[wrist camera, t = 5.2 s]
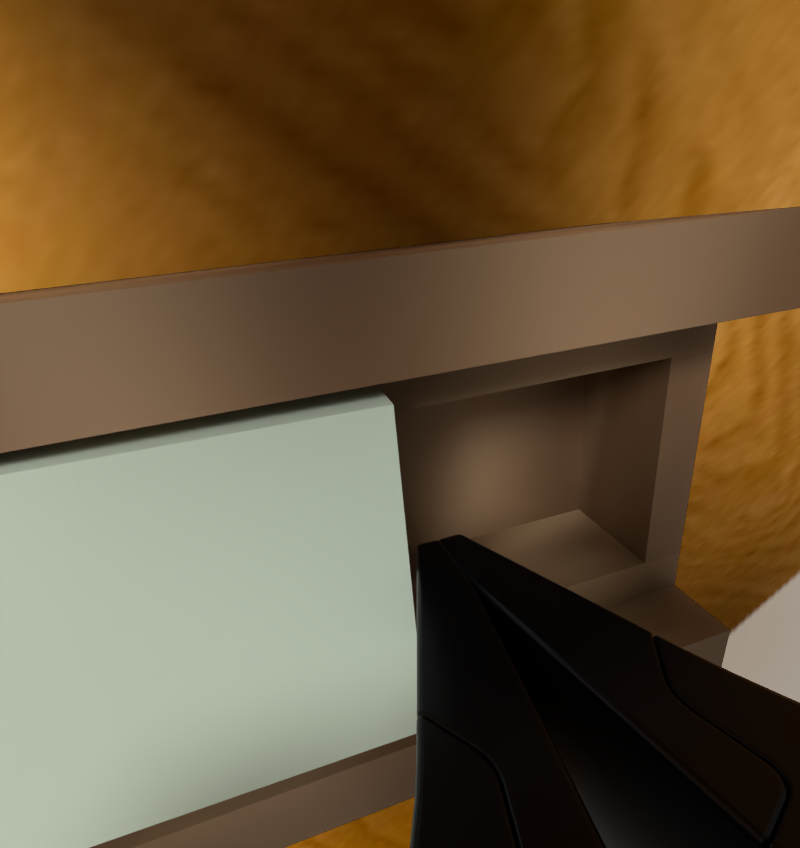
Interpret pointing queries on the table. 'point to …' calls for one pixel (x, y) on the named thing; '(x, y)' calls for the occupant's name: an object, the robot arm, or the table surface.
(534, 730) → the robot arm
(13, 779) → the lid
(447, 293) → the walnut box
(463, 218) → the table surface
